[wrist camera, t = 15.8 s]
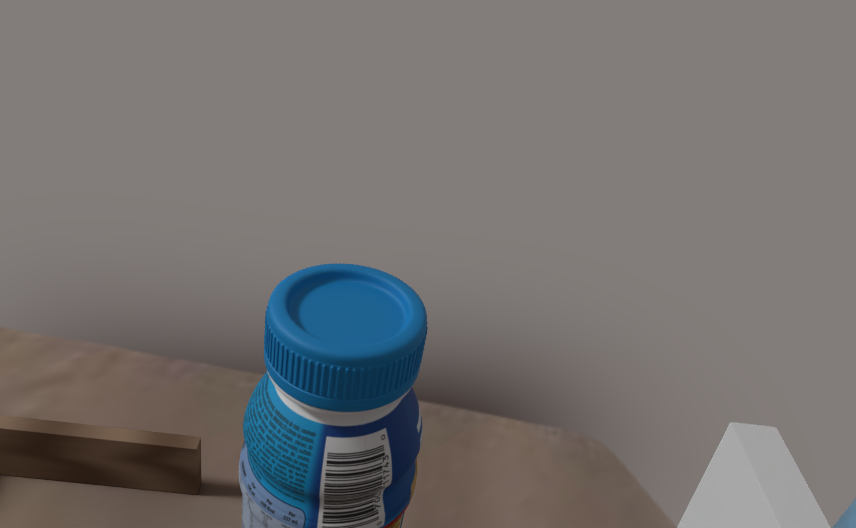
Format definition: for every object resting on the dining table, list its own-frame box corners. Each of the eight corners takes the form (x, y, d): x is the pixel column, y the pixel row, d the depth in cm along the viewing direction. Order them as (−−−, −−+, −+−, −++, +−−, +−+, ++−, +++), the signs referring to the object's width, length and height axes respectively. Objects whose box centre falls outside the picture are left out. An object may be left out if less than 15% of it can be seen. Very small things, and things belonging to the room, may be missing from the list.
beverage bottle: (202, 629, 39) (201, 323, 29) (284, 511, 46) (307, 230, 36) (349, 699, 37) (405, 401, 27) (411, 566, 44) (475, 287, 34)
